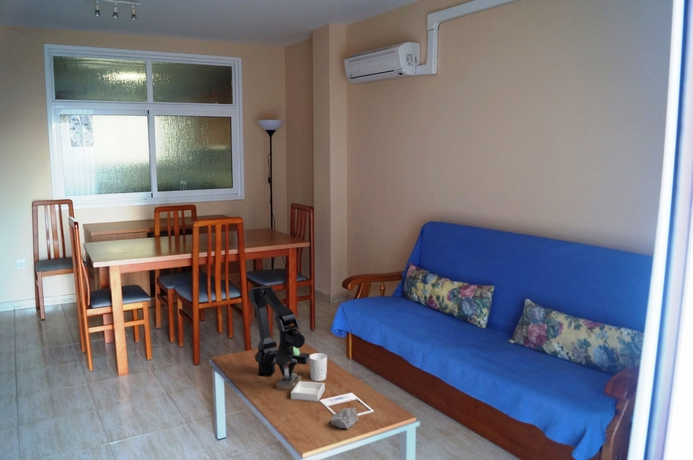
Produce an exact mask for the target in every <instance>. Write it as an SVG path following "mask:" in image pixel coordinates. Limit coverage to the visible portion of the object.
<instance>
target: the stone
mask: <svg viewBox="0 0 693 460" xmlns="http://www.w3.org/2000/svg"><path fill="white" fill-rule="evenodd" d="M335 413H336V414H333V415H332V416H331V417H330V419H331V420H330V421H331V425H332V426H335V427H336V428H339V429H345V430H349V429H350V428H352V427H353V426H354V425H355V424H356V423H358V422H359V417H358V416H357V414H358V411H357V408H356V407H355V406H354V407H347V408H346V407H345V408H342V409H340V410H339V411H338V412H335Z"/></svg>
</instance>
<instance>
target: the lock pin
mask: <svg viewBox="0 0 693 460" xmlns="http://www.w3.org/2000/svg"><path fill="white" fill-rule="evenodd" d="M289 364H290V362H288V363H287V364H286V365H283V366H284V381H288V382H290V376H289V371H290V365H289Z"/></svg>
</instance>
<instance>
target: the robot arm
mask: <svg viewBox="0 0 693 460" xmlns="http://www.w3.org/2000/svg"><path fill="white" fill-rule="evenodd" d="M247 296H248V299H249V301H250V302H249V303H250V304H251V305H252V306H253V307H254V309H255V316H256V322H257V327H258V329H257V330H258V332H259V333H258V334H259V339H260V340H259V342H258V345H257V352H256V354H254V360H255V362H257V363H258V373H257V374H256V375H257V376H260V377H272V376H273V375H274V373H275V372H276V365H277V366H278V368H279V370H280V372H281V375H282V376H283V377H284V366H283V365H286V364H287V363H290V364H289V365H290V371H289V376H290V377H291V375H292V373H294V369H295V366H297V365H307V364H308V363H309V362H310V361H309V360H310V355H311V354H309V352H308V353H307V352H305V353H304V352H300V354H299V355H294V351H293V347H295V348H299V349H300V348H302V347H303V346H304V345H305V341H306V338H305V336H304V335H303V334H302V333H301V331H300V323H299V321H298V318H297V316H296V314H295V312H293V311H292V309H291V308H289V307H287V306H285V305H284V304H283V302H282V301H281V299H280V298H279V297H278V296H277V294H276V293H275V291H274V288H273V287H272V286H258V287H251V288H250V289H249V291H248V293H247ZM267 305H268V306H269V307H270V308H271V310H272V311H273V313H274V315H275V316H274V320H275V322H276V325H277V326H276V329H277V330H279V331H278V333H279V344H278V345H277V342H276V341H274V339H273V338H272V335H271V329H270V322H269V317H268V311H267Z"/></svg>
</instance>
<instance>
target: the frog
mask: <svg viewBox="0 0 693 460" xmlns="http://www.w3.org/2000/svg"><path fill="white" fill-rule="evenodd" d="M293 351H294V355H299V354H300V353H301V352H300V348H295V347H293Z"/></svg>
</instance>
